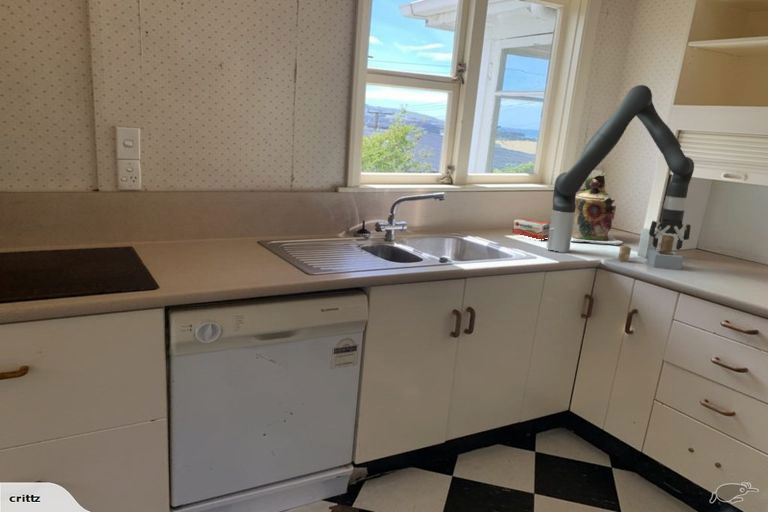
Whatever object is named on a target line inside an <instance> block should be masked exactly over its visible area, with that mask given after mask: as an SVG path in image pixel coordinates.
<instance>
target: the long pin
mask: <svg viewBox="0 0 768 512" xmlns="http://www.w3.org/2000/svg"><path fill="white" fill-rule="evenodd" d="M661 236H662V237H661V241H660V246H659V250H660V251H659V253H660V254H665V255H671V252H673V245H674V241H675V237H674V235H668V234H667V235H665V234H662V235H661Z"/></svg>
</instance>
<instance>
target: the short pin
mask: <svg viewBox="0 0 768 512" xmlns="http://www.w3.org/2000/svg"><path fill="white" fill-rule="evenodd" d="M619 246H620V247H619V251H618V258H617V260H618V261H619V262H622V263H629V262H630V256H631V252H632V251H631V250H632V247H631V246H630V245H621V244H620V245H619Z"/></svg>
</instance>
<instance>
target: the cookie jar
mask: <svg viewBox="0 0 768 512" xmlns="http://www.w3.org/2000/svg"><path fill="white" fill-rule="evenodd" d="M605 176H606V173H605V172H604V173H603V174H599V175H593V176H590V177H589V176H588V178H587V179H586V180H585V182H584V185H585V190H584V191H583V192H581V193H579V194H577V193H576V198H575V204H576V209H575V216H574V223H573V230H572V236H571V241H572V242H571V243H573V242H578V243H584V242H586V243H591V244H603V245H615V246H620V245H621V244H622V243H623V241H622V240H619V239H616V238H614V236H612V234H609V232H610V231H611V229H612V226H613V225H612V223H613V220H614V218H615V215H616V210H617V206H616V205H613V203H614V202H615V198H613V197H611V196H610V194H609V193H608V192H607V191H606V188H605V186H606V181H605ZM572 238H573V239H572Z"/></svg>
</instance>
